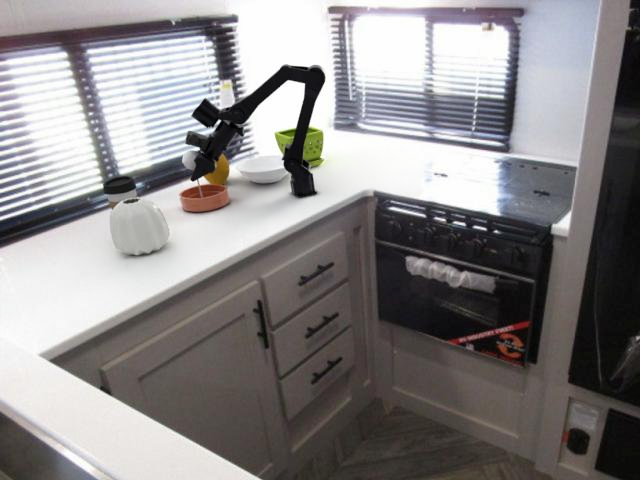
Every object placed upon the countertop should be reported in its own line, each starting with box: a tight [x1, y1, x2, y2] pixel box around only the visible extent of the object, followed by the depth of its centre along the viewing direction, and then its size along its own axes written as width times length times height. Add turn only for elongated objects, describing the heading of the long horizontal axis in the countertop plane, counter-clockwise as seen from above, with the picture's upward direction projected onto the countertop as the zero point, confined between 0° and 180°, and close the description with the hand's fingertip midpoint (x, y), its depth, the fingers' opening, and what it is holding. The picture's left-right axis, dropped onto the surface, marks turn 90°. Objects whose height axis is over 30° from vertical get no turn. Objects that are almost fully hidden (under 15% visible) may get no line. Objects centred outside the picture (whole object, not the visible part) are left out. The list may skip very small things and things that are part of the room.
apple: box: [203, 153, 230, 185], centre depth 196 cm, size 10×10×12 cm
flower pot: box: [274, 125, 324, 168], centre depth 209 cm, size 14×14×13 cm
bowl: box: [235, 154, 290, 184], centre depth 196 cm, size 20×20×6 cm
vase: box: [109, 196, 171, 256], centre depth 148 cm, size 14×14×13 cm
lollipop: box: [181, 149, 203, 198], centre depth 176 cm, size 6×6×15 cm
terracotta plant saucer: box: [178, 183, 231, 213], centre depth 178 cm, size 14×14×4 cm
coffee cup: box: [102, 175, 139, 211], centre depth 159 cm, size 8×8×15 cm
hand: (192, 178), depth 176 cm, fingers closed on lollipop, 5 cm apart
